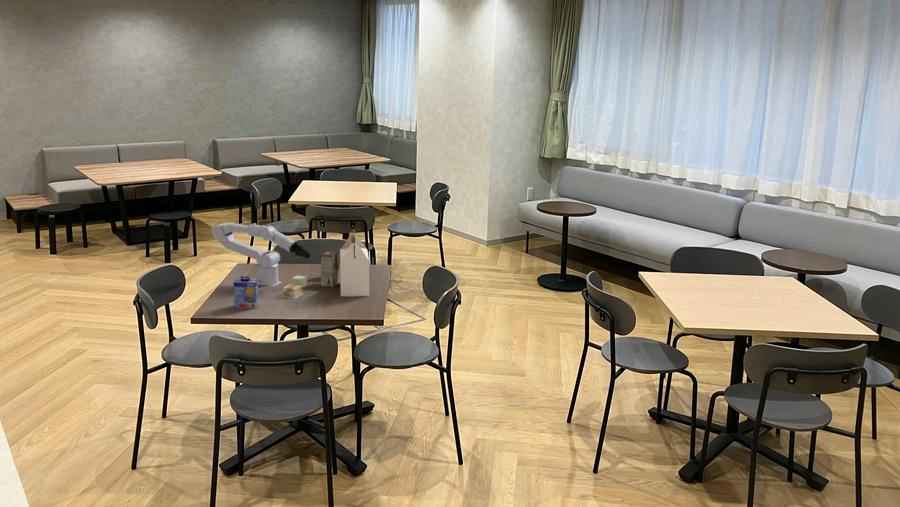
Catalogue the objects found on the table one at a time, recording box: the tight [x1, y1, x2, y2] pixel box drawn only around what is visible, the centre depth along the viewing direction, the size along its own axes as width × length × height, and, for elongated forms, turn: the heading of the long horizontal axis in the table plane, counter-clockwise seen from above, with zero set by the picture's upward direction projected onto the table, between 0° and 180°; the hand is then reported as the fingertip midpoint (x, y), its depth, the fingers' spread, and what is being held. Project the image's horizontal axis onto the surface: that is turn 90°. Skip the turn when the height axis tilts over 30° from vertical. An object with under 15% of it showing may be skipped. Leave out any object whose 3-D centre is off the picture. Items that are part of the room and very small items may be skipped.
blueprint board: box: [265, 288, 319, 304], centre depth 346 cm, size 18×18×1 cm
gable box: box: [339, 229, 370, 297], centre depth 355 cm, size 22×13×28 cm, turn 8°
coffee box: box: [319, 250, 340, 288], centre depth 363 cm, size 9×6×16 cm
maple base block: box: [282, 283, 302, 297], centre depth 345 cm, size 6×6×4 cm
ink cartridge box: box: [233, 275, 260, 309], centre depth 328 cm, size 10×6×14 cm, turn 95°
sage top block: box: [291, 275, 308, 289], centre depth 360 cm, size 5×5×5 cm
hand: (307, 255), depth 354 cm, fingers open, 7 cm apart
